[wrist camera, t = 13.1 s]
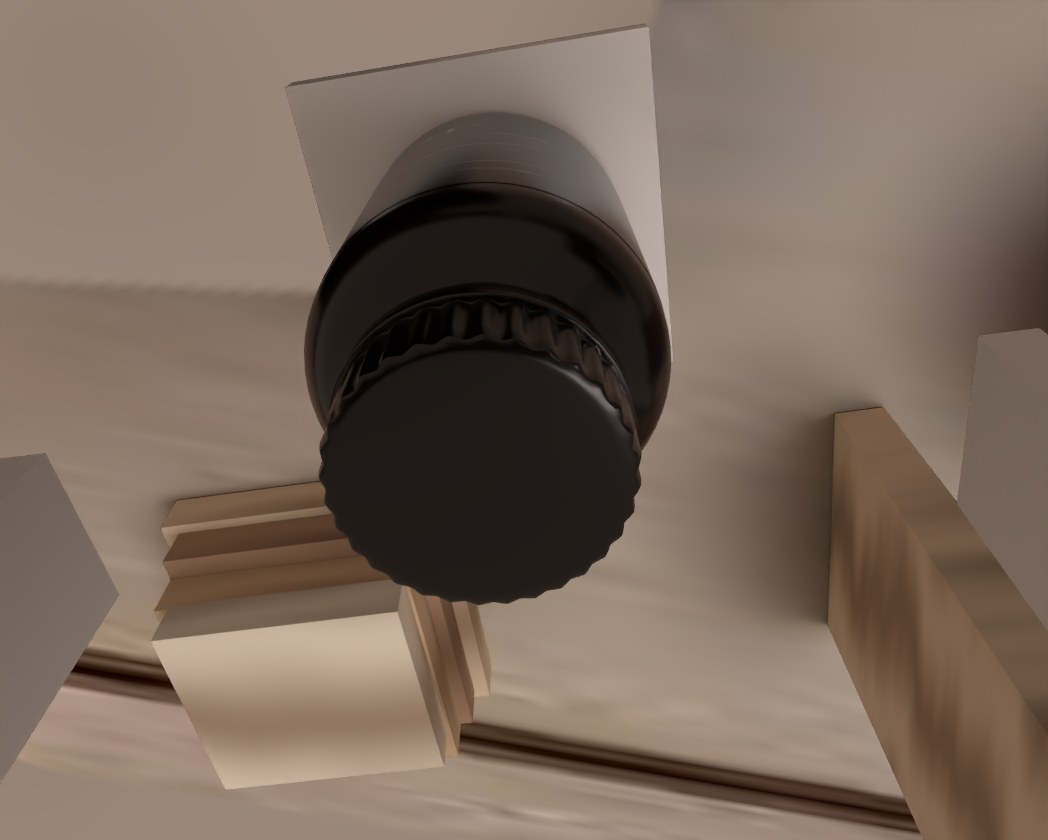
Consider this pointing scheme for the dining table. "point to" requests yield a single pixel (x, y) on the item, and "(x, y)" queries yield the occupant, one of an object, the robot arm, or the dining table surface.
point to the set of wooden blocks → (464, 665)
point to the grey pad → (491, 86)
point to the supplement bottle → (487, 364)
